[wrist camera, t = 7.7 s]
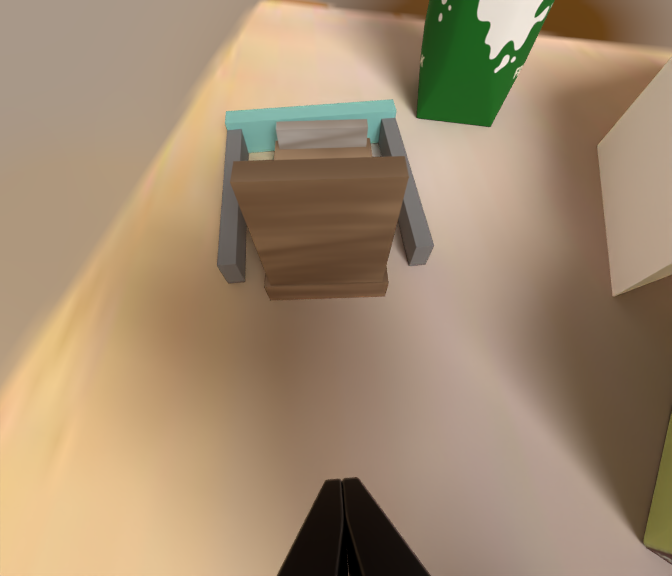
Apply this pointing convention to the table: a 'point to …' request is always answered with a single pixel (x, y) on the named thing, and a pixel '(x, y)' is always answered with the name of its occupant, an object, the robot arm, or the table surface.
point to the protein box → (662, 506)
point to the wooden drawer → (322, 210)
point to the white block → (639, 188)
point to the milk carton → (474, 56)
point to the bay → (260, 135)
